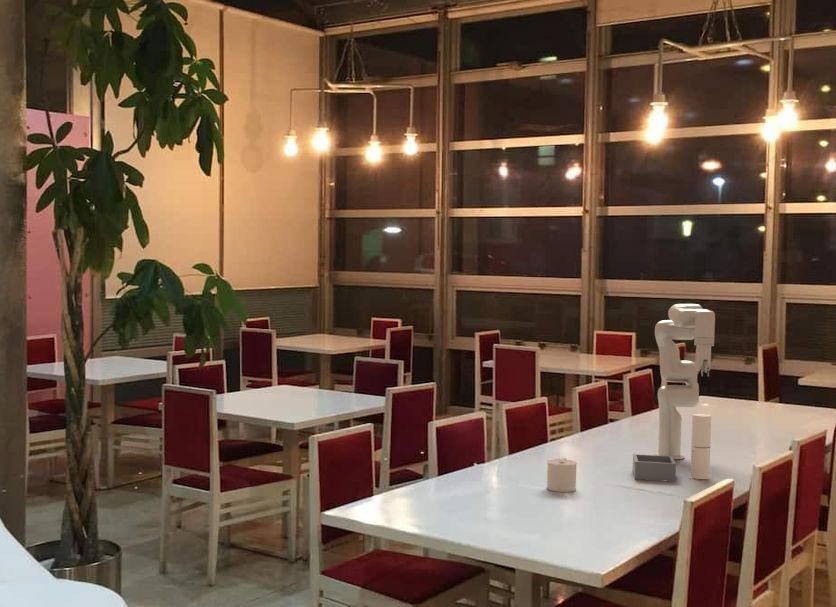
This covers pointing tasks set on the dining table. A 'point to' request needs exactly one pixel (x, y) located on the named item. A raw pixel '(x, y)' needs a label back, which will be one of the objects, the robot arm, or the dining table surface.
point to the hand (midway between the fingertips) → (702, 385)
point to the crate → (654, 467)
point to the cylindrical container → (700, 446)
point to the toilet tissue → (561, 475)
